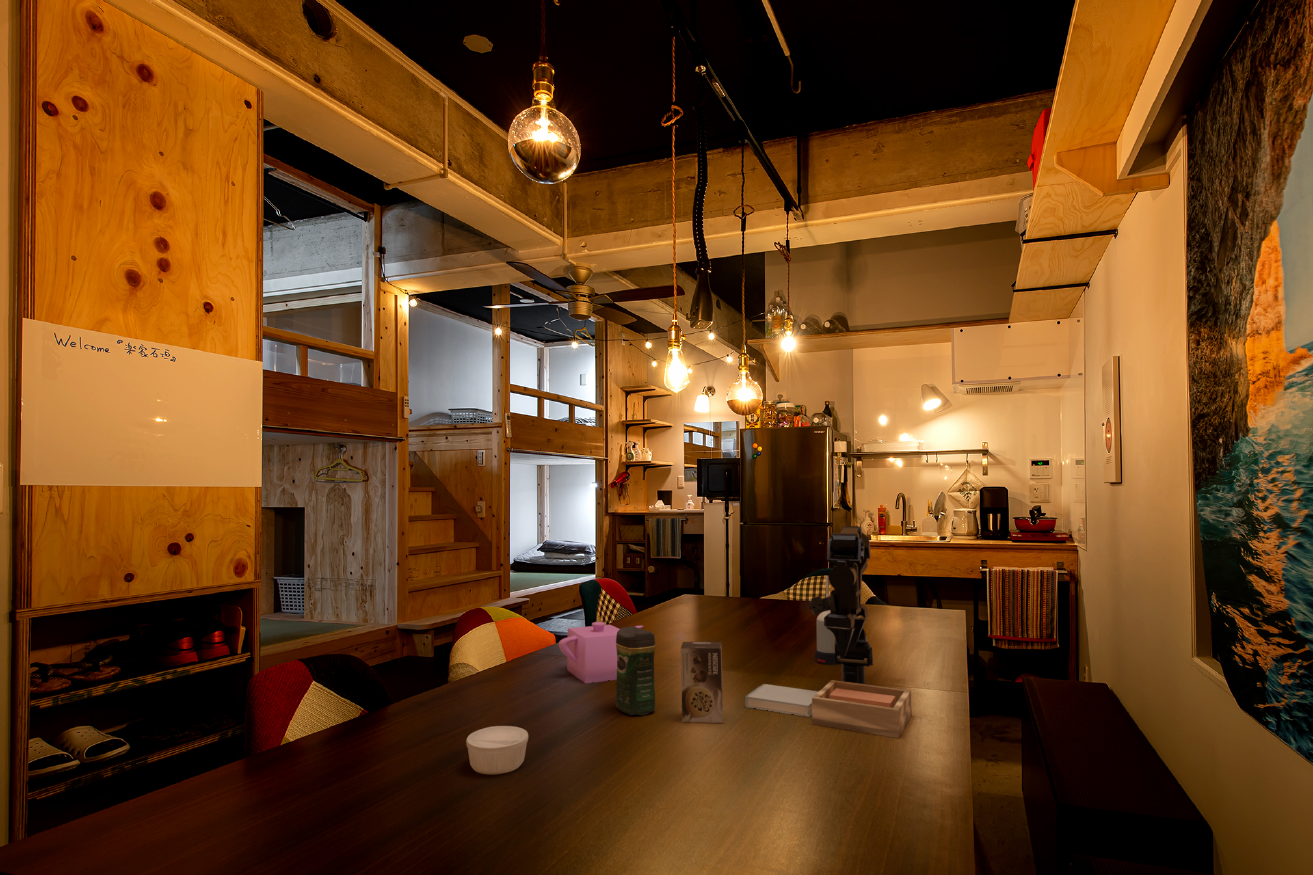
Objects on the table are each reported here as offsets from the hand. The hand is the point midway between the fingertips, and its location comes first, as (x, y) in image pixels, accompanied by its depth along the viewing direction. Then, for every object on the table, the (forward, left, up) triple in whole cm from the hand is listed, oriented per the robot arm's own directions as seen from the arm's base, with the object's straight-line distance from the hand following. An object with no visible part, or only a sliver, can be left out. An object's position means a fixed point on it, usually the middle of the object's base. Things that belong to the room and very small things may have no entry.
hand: (847, 652), depth 165 cm
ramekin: (+68, -48, -12) cm, 84 cm away
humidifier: (-39, -15, -12) cm, 44 cm away
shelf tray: (+10, +5, -12) cm, 17 cm away
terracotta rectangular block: (+10, +5, -11) cm, 16 cm away
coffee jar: (+28, -42, -12) cm, 52 cm away
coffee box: (+26, -26, -12) cm, 39 cm away
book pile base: (+8, -13, -12) cm, 19 cm away
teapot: (+4, -67, -12) cm, 68 cm away
